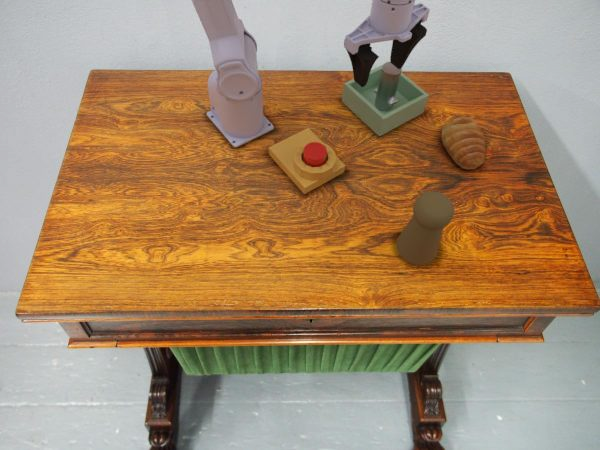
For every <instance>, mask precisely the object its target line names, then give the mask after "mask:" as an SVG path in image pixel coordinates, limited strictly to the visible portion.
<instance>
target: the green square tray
mask: <svg viewBox="0 0 600 450" xmlns="http://www.w3.org/2000/svg"><path fill="white" fill-rule="evenodd" d="M382 66H383V64H381V65H379V66H378V67H375V68H372V69H371V71H370V74H369V78H368V82H367V84H366V86H364V87H361V86H360V85H359V84H358V83H356V82H355V81H354V78H352V79H350V80H348V81H346V82H344V83H343V86H342V87H343V88H342V95H341V102H342V104H344V105H345V106H346V107H347V108H348V109H349V110H350V111H351V112H352V113H353V114H355V116H356V117H358V119H360V120H361V121H362V122H363V123H364V124H365V125H366V126H367V127H368V128H370V130H371V131H372V132H374V133H375V134H376V135H377V136H378V137H381V136H383V135H385V134H387V133H389V132H390V131H392V130H394V129H396V128H398V127H400V126H402V125H403V124H406V123H407V122H409V121H411V120H412V119H415V118H416V117H418V116H420V115H422V114H424V112H425V109H426V106H427V103H428V101H429V97H430V94H428V92H426V91H425V90H423V89H422V87H420V86H419V85H418V84H416V83H415V82H414V81H413V80H411V79H410V78H409V77H408V76H407V75H405V73H403V72H402V71H401V75H400V79H399V83H398V87H397V91H396V95H395V99H397V100H398V101H397V103H396V104H394V105H393V107H392V108H391V109H390V110H388V111H381V110H379V109H377V108H376V107H375V99H376V93H374V89H376V88H378V85H379V80H380V75H381V71H382Z"/></svg>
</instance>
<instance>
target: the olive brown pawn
mask: <svg viewBox="0 0 600 450" xmlns="http://www.w3.org/2000/svg"><path fill="white" fill-rule="evenodd" d="M412 214H413V215H412V216H411V218H410V219H409V221H408V222H407V224H406V226H405V227H404V228H403V229H402V231H401V232H400V234H399V235H398V237H397V240H396V243H395V244H396V250H397V252H398V254H399V256H400V257H401V258H402V259H403V260H404V261H406V262H407V263H409V264H411V265H415V266H424V265H429V264H430V263H432V262H433V261H434V260H435V259H436V257H437V256H438V251H439V247H440V244H441V240H442V235H443V232H444V229H445V227H448V225H449V224H450V223H451V222H452V221H453V218H454V216H455V207H454V203H453V202H452V200H451V198H450V197H448V195H446V194H444V193H443V192H440V191H437V190H431V191H426V192H424V193H422V194H420V195H419V196H418V197H417V198H416V200H415V201H414V204H413V207H412Z"/></svg>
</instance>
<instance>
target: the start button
mask: <svg viewBox="0 0 600 450" xmlns="http://www.w3.org/2000/svg"><path fill="white" fill-rule="evenodd" d="M326 157H327V149H326V147H325V146H324V145H323V144H321V143H318V142H311V143H309V144H307V145H306V146H305V147H304V151H303V160H304V162H305V163H306V164H307V165H309V166H312V167H319V166H321V165H323V164H324V163H325V161H326Z"/></svg>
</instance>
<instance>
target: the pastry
mask: <svg viewBox="0 0 600 450" xmlns="http://www.w3.org/2000/svg"><path fill="white" fill-rule="evenodd" d="M440 136H441V137H440V138H441V142H442V146H443V147H444V149H445V150H446V152H447V154H448V155H449V156H450V158H451V159H452V161H453V162H454V163H455V165H458V166H459V167H460V168H461V169H463V170H476V169H477V168H478V167H480V166H481V165H482V164H484V162H485V155H486V154H487V153H486V137H485V136H484V133H483V128H482V127H481V126H480V125H479V124H477V123H476V122H475V120H474V119H473V118H472V117H470V116H458V117H456V118H453V119H451V120H449V121H448V122H446V123H445V124H444V125H443V126H442V128H441V135H440Z"/></svg>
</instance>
